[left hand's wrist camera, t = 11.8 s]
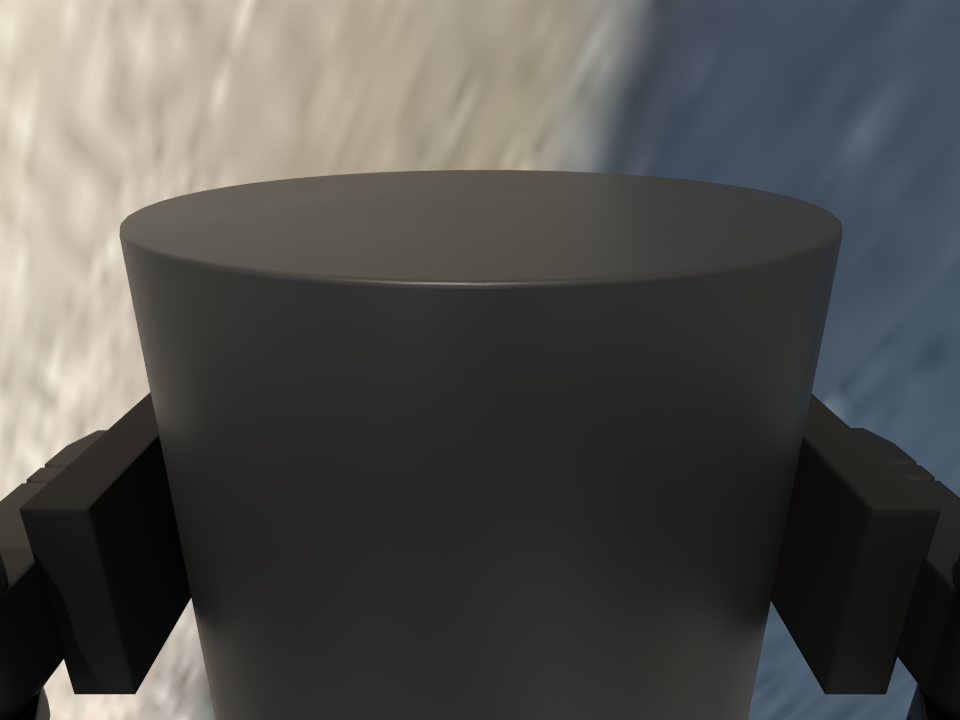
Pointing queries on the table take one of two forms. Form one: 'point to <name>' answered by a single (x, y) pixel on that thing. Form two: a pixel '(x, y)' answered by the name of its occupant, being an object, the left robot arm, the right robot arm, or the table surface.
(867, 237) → the table surface
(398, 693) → the rod
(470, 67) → the table surface
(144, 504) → the left robot arm
